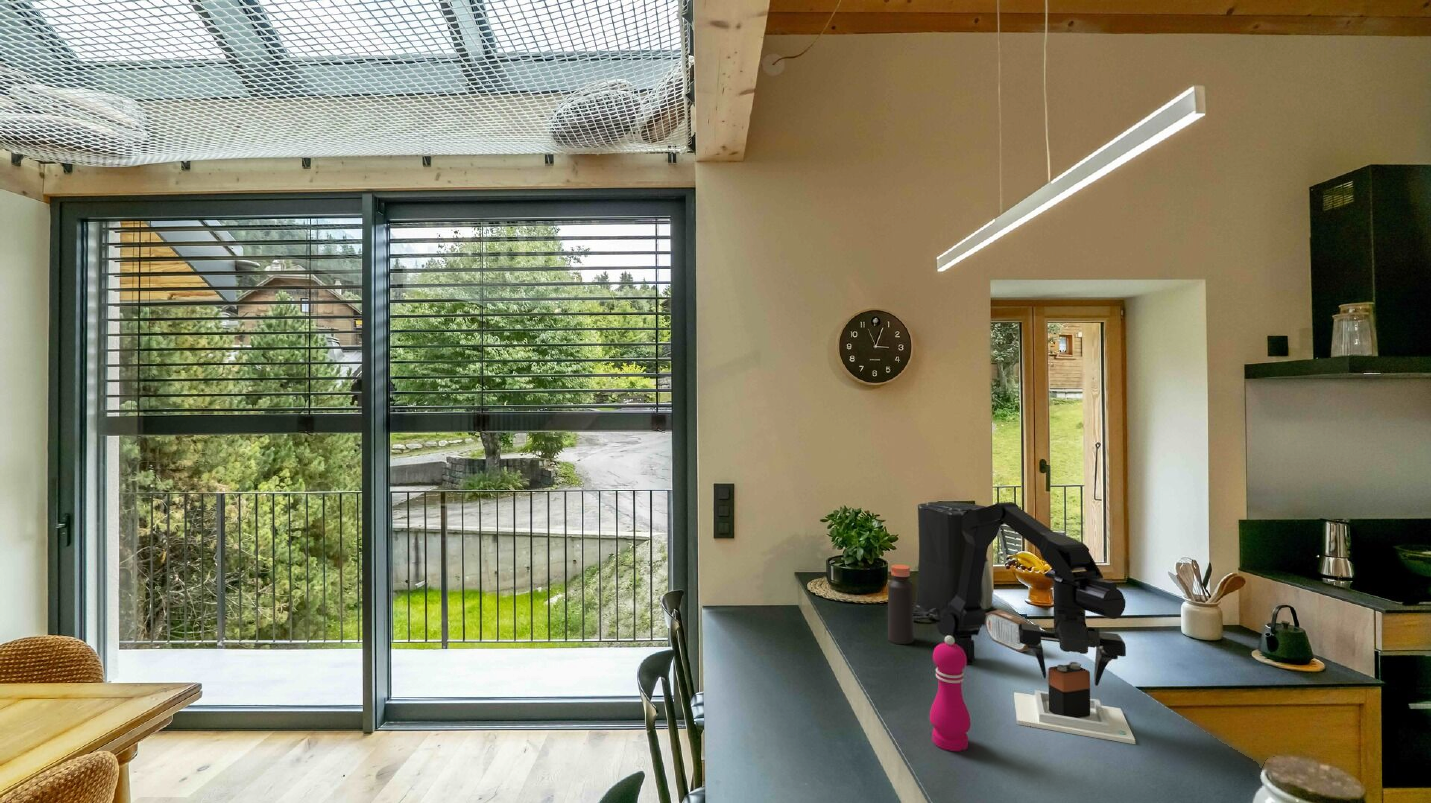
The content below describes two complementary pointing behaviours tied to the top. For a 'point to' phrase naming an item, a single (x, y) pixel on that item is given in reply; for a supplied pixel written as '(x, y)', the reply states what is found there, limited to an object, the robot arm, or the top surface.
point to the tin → (1005, 629)
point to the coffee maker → (944, 559)
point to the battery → (1069, 690)
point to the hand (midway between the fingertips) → (1070, 681)
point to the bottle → (900, 606)
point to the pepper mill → (950, 698)
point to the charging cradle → (1097, 725)
